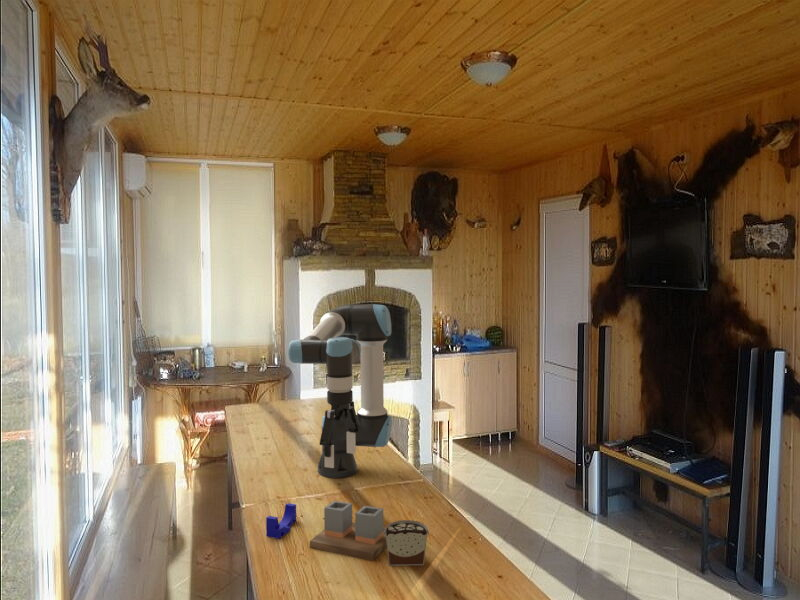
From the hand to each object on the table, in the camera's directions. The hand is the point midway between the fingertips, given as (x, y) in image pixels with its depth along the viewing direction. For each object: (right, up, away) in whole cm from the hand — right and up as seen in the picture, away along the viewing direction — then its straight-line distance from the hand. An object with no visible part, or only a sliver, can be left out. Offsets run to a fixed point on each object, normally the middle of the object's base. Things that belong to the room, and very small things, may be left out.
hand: (340, 459), depth 179 cm
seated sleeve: (+9, -21, -7) cm, 24 cm away
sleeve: (0, -20, -3) cm, 21 cm away
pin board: (+4, -22, -5) cm, 24 cm away
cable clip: (-18, -23, +3) cm, 29 cm away
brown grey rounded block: (+19, -23, -16) cm, 34 cm away
